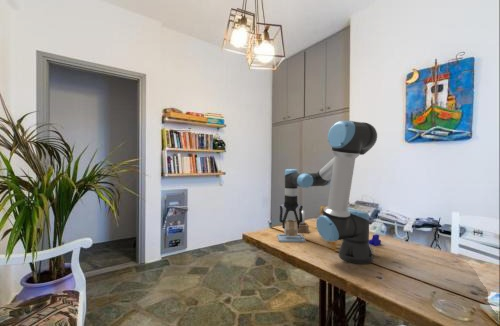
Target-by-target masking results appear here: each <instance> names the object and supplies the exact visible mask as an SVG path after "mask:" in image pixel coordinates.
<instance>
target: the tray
mask: <svg viewBox="0 0 500 326" xmlns="http://www.w3.org/2000/svg"><path fill="white" fill-rule="evenodd" d="M276 238H277V239H278V243H306V242H307V241H306V239H305V236H303V234H302V233H297V236H286V235H285V234H284V233H278V234H276Z"/></svg>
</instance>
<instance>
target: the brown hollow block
mask: <svg viewBox="0 0 500 326" xmlns="http://www.w3.org/2000/svg"><path fill="white" fill-rule="evenodd" d="M309 228H310V226H309V224H307V222H305V224H304V225H300V223H299V229H297V234H309Z"/></svg>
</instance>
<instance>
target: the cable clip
mask: <svg viewBox="0 0 500 326" xmlns="http://www.w3.org/2000/svg"><path fill="white" fill-rule="evenodd" d="M369 245H371V246H374V247H377V246H381V245H382V240H381V239H380V234H377V233H376V234H372V238H371V239H369Z"/></svg>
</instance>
